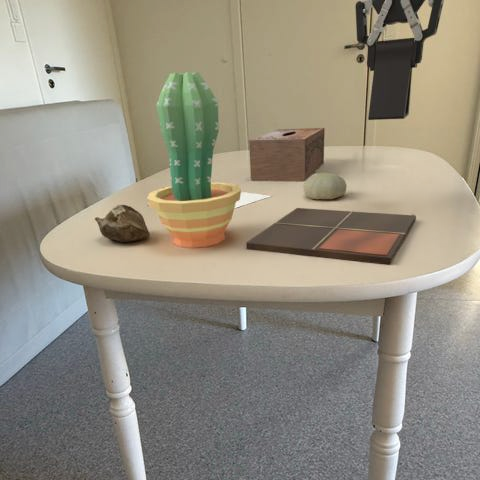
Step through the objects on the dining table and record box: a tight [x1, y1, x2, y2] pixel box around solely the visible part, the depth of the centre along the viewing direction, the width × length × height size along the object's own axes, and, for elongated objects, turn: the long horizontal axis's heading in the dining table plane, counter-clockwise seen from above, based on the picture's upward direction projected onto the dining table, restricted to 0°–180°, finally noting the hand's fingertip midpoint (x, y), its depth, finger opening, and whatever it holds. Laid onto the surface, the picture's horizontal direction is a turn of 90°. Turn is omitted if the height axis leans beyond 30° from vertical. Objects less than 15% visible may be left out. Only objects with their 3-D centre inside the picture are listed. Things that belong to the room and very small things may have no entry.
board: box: [245, 207, 417, 265], centre depth 74 cm, size 22×22×1 cm
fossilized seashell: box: [94, 204, 150, 243], centre depth 78 cm, size 8×7×10 cm
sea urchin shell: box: [303, 172, 348, 201], centre depth 96 cm, size 9×8×8 cm
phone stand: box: [367, 37, 415, 121], centre depth 78 cm, size 9×6×12 cm, turn 156°
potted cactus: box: [146, 71, 242, 249], centre depth 70 cm, size 15×15×25 cm
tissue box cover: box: [248, 127, 326, 182], centre depth 124 cm, size 26×14×10 cm, turn 160°
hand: (393, 68), depth 77 cm, fingers closed on phone stand, 6 cm apart
